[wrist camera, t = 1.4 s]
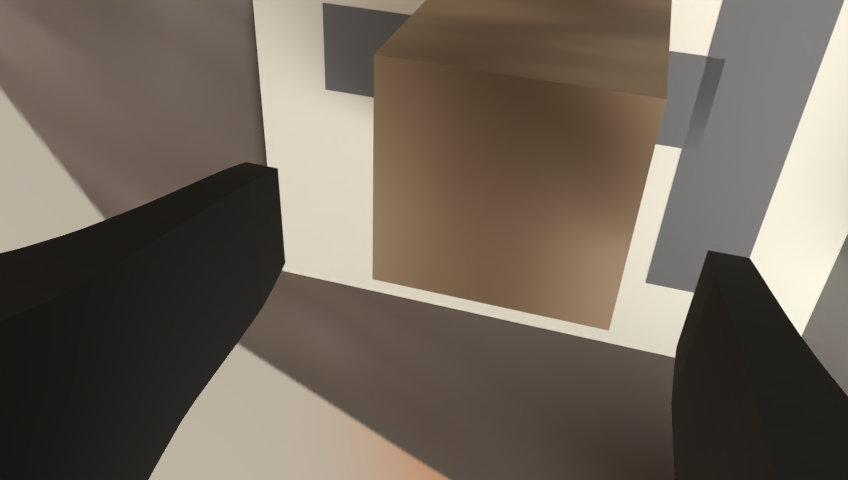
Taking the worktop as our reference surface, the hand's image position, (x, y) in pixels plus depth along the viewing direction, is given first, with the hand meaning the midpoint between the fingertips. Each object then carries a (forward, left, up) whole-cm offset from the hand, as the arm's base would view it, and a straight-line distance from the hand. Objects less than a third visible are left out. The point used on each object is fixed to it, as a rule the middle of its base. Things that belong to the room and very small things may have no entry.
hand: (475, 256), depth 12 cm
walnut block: (0, 0, -8) cm, 8 cm away
